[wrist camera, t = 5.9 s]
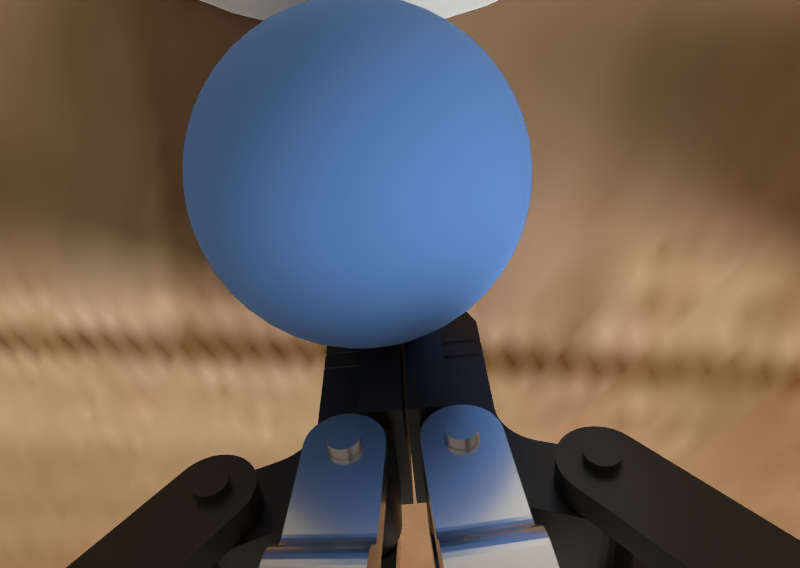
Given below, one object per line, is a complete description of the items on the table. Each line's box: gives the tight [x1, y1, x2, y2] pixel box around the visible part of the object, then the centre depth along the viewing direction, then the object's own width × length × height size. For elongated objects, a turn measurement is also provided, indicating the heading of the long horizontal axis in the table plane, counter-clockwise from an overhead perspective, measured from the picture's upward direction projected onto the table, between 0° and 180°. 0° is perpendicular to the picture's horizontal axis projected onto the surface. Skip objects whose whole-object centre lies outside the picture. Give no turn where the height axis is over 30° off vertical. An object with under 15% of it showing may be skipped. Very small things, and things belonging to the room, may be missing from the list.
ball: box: [183, 0, 532, 349], centre depth 10 cm, size 6×6×6 cm
